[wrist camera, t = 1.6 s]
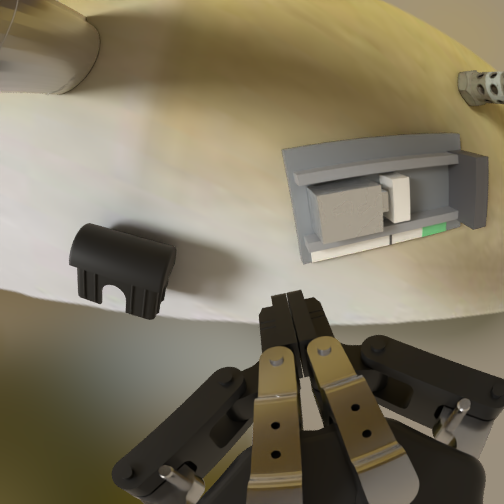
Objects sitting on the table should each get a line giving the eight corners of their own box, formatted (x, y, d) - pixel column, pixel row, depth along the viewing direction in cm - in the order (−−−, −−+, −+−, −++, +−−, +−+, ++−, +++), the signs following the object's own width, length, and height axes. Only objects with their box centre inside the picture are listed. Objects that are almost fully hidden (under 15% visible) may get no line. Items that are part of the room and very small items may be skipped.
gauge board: (281, 149, 25) (293, 154, 20) (453, 132, 24) (487, 138, 18) (301, 259, 30) (313, 289, 25) (454, 223, 29) (484, 241, 23)
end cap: (181, 235, 29) (166, 264, 22) (170, 289, 31) (156, 326, 25) (99, 213, 27) (67, 235, 21) (95, 267, 30) (70, 297, 24)
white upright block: (379, 174, 25) (392, 179, 22) (395, 172, 25) (409, 177, 22) (381, 214, 27) (394, 223, 24) (397, 211, 27) (410, 219, 24)
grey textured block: (306, 186, 25) (316, 196, 22) (375, 174, 25) (394, 182, 21) (312, 228, 27) (323, 244, 24) (378, 215, 27) (396, 228, 23)
